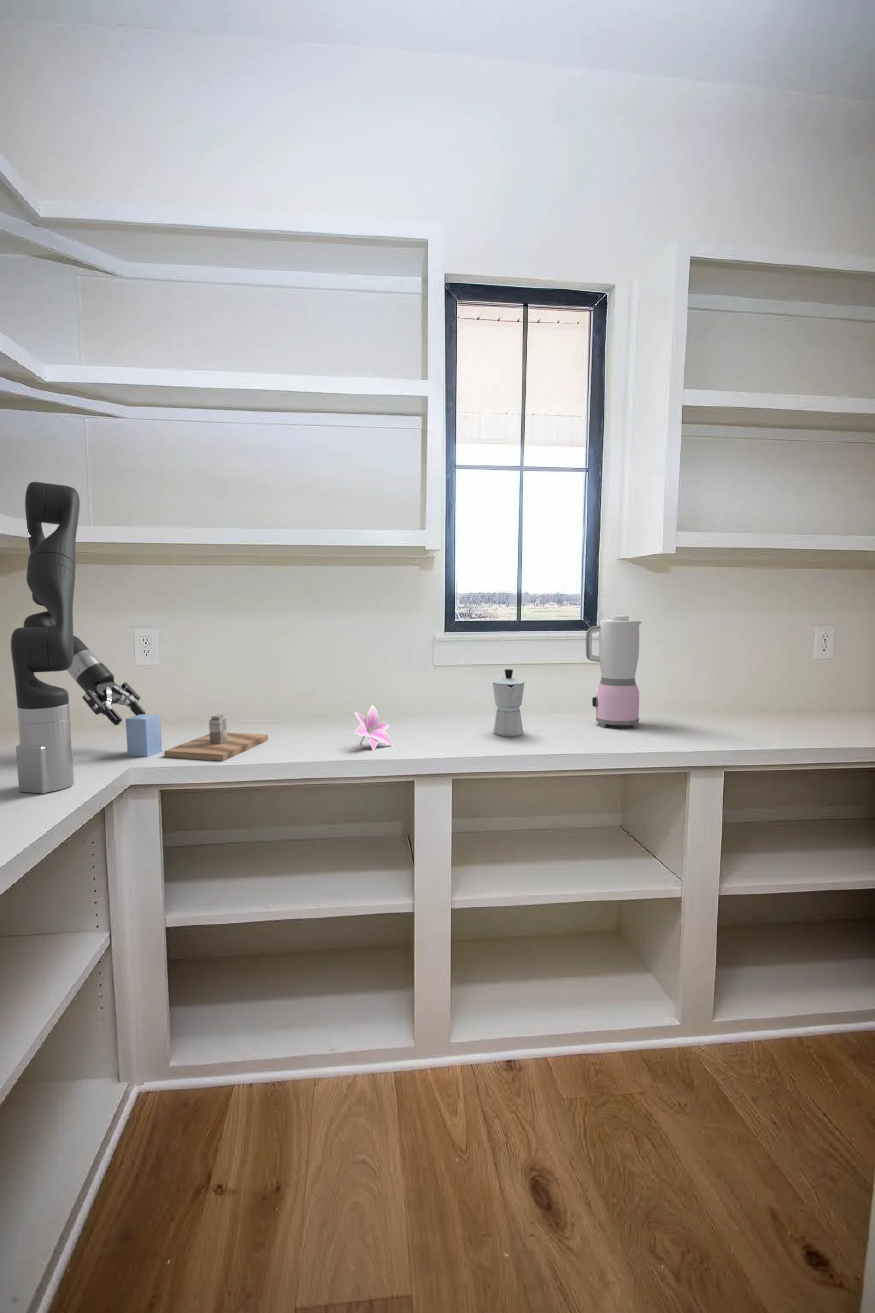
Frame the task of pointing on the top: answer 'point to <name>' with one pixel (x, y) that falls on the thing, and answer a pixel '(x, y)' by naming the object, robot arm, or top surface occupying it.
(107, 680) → the robot arm
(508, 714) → the coffee maker
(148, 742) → the light blue block
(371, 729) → the lily
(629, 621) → the blender
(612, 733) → the top surface
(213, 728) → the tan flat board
